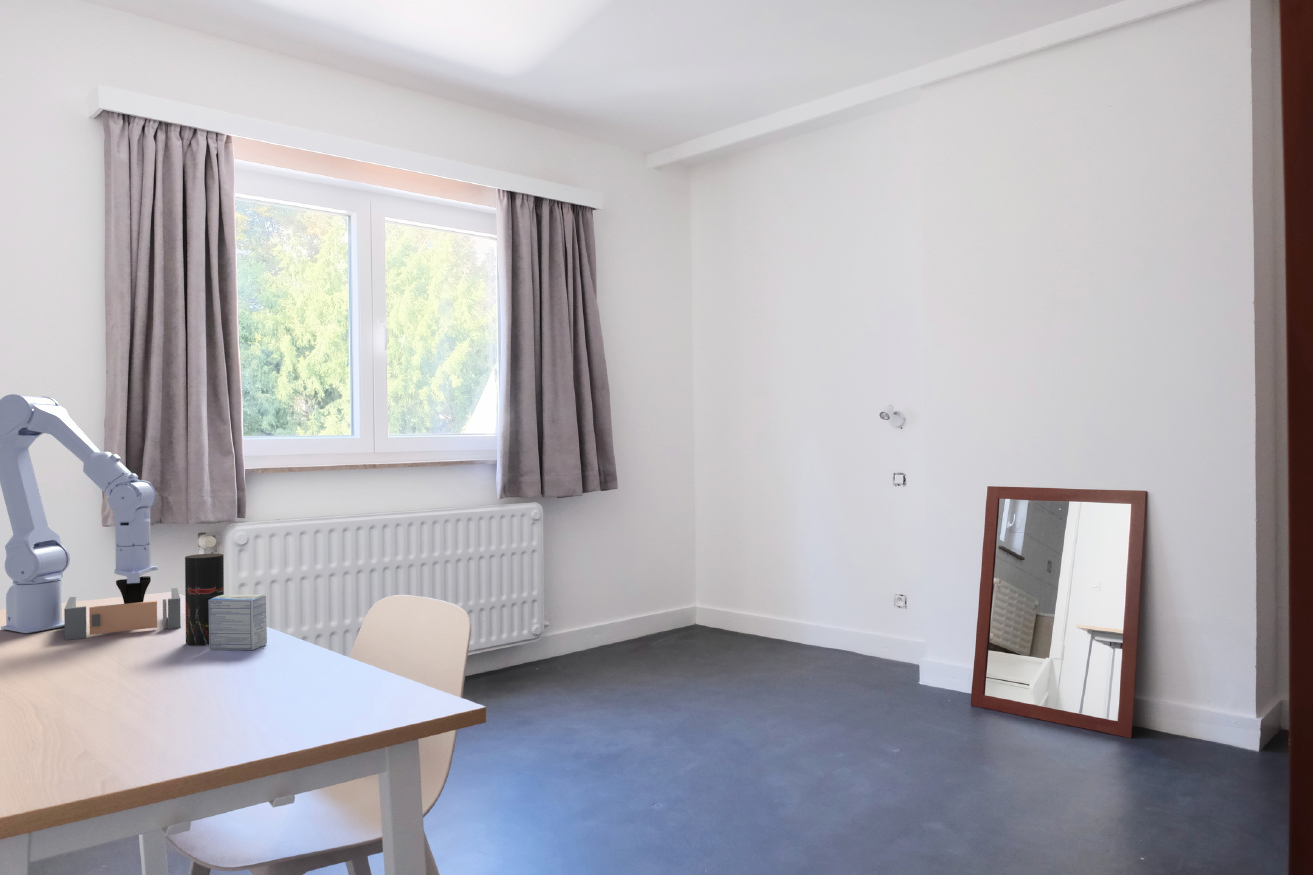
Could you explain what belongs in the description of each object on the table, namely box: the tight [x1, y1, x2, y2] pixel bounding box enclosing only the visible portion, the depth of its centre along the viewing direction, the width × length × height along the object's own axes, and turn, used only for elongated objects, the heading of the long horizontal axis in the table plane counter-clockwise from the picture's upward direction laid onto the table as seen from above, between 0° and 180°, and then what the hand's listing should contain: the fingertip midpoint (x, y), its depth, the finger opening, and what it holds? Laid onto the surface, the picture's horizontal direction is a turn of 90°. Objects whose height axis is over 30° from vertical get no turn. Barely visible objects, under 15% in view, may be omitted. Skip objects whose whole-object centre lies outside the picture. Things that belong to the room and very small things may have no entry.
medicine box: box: [208, 593, 268, 651], centre depth 146 cm, size 8×4×9 cm, turn 84°
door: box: [88, 600, 158, 635], centre depth 158 cm, size 2×10×5 cm, turn 121°
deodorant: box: [184, 553, 225, 647], centre depth 150 cm, size 6×6×15 cm
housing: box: [63, 587, 181, 641], centre depth 163 cm, size 14×18×6 cm
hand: (133, 616), depth 164 cm, fingers closed
